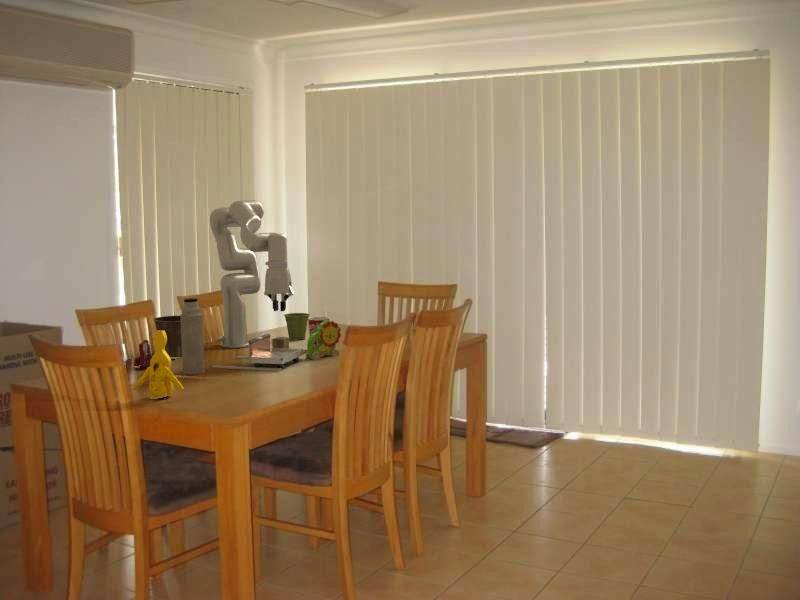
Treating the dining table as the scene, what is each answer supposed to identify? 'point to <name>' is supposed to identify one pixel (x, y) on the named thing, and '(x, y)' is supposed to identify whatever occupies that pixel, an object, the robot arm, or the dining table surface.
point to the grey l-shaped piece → (270, 352)
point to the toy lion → (324, 340)
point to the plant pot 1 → (171, 334)
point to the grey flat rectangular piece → (249, 367)
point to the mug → (315, 327)
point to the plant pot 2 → (296, 325)
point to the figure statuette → (159, 370)
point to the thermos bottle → (192, 338)
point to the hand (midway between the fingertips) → (279, 310)
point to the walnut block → (280, 342)
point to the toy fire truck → (144, 354)
